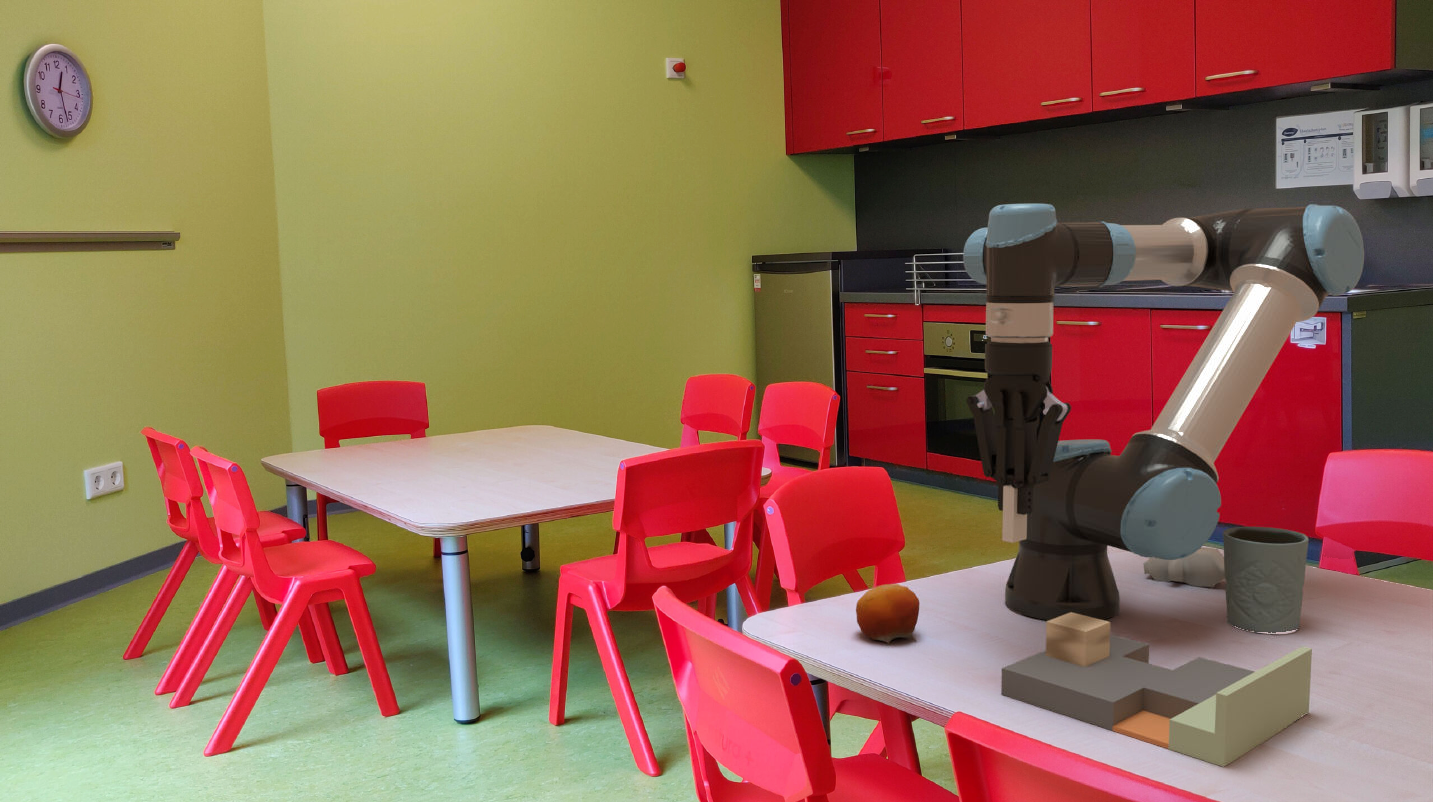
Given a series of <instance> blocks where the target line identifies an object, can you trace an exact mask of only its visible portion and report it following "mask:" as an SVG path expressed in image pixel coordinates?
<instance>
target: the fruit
mask: <svg viewBox="0 0 1433 802" xmlns="http://www.w3.org/2000/svg"><path fill="white" fill-rule="evenodd" d="M855 606H856V607H855V614H856V623H857V625H858V626H859V628H860V632H862V634H863V635H865V636H866V637H867V638H869V639H871V640H873V641H882V642H885V643H887V644H888V645H889V644H890V642H891V641H892V640H894V639H898V638H909V639H912V640H913V641H914V642H917V640H916V638H914V637H913V635H912V634H913V633H914V632H915V630H916V626H917V623H918V619H919V616H920V615H919V614H920V599H919V598H918V597H917V595H916V593H915V592H914V591H912V589H910V588H909V587H907V586H905V585H904V586H903V585H901V584H897V583H891V584H881V585H878V586H875V587H873V588H871V589H869V590H867V591H866V592H865V593H864V594H863V595H861V597H860V598H859V599H858V600H857V602H856V605H855Z"/></svg>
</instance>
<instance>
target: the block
mask: <svg viewBox="0 0 1433 802" xmlns="http://www.w3.org/2000/svg"><path fill="white" fill-rule="evenodd" d="M1045 625H1046V627H1045V628H1046V633H1045V650H1046V656H1049V657H1052V658H1056V659H1059V660H1063V661H1066V662H1070V663H1073V664H1077V665H1080V666H1084V667H1086V666H1088V665H1091V664H1093V663H1095V662H1097V661H1100V660H1102V659H1104V658H1106V657H1109V650H1110V634H1111V622H1110V621H1108V620H1105V619H1103V620H1100V619H1096V618H1092V617H1088V616H1084V615H1080V614H1076V613H1072V612H1070V613H1068V614H1065V615H1062V616H1060V617H1057V618H1054V619H1052V620H1046V624H1045Z"/></svg>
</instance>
